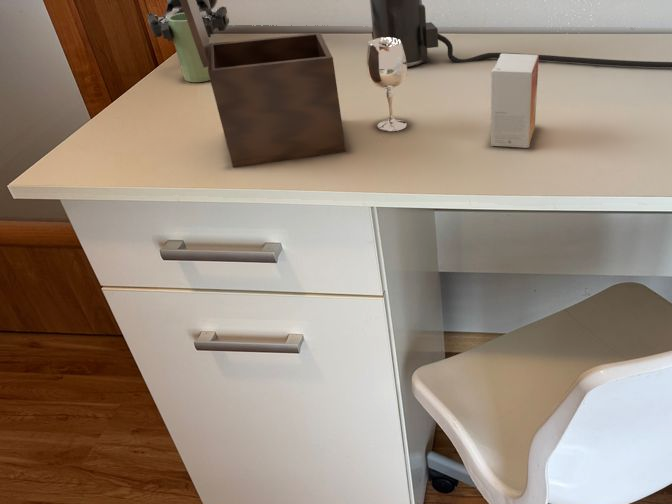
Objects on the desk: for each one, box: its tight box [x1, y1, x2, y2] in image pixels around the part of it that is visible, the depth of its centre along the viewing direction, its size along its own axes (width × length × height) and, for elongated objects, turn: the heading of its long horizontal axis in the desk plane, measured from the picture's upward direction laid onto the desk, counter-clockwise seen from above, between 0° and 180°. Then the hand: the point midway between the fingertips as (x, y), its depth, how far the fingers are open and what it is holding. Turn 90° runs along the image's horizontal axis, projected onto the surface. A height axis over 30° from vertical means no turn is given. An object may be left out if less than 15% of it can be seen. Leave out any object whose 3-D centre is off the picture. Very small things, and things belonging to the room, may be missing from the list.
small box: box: [490, 52, 540, 149], centre depth 95 cm, size 8×6×10 cm
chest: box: [208, 32, 347, 168], centre depth 94 cm, size 16×12×13 cm
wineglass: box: [365, 37, 408, 132], centre depth 98 cm, size 6×6×12 cm
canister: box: [167, 13, 210, 83], centre depth 117 cm, size 6×6×10 cm
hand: (188, 33), depth 113 cm, fingers closed on canister, 5 cm apart
